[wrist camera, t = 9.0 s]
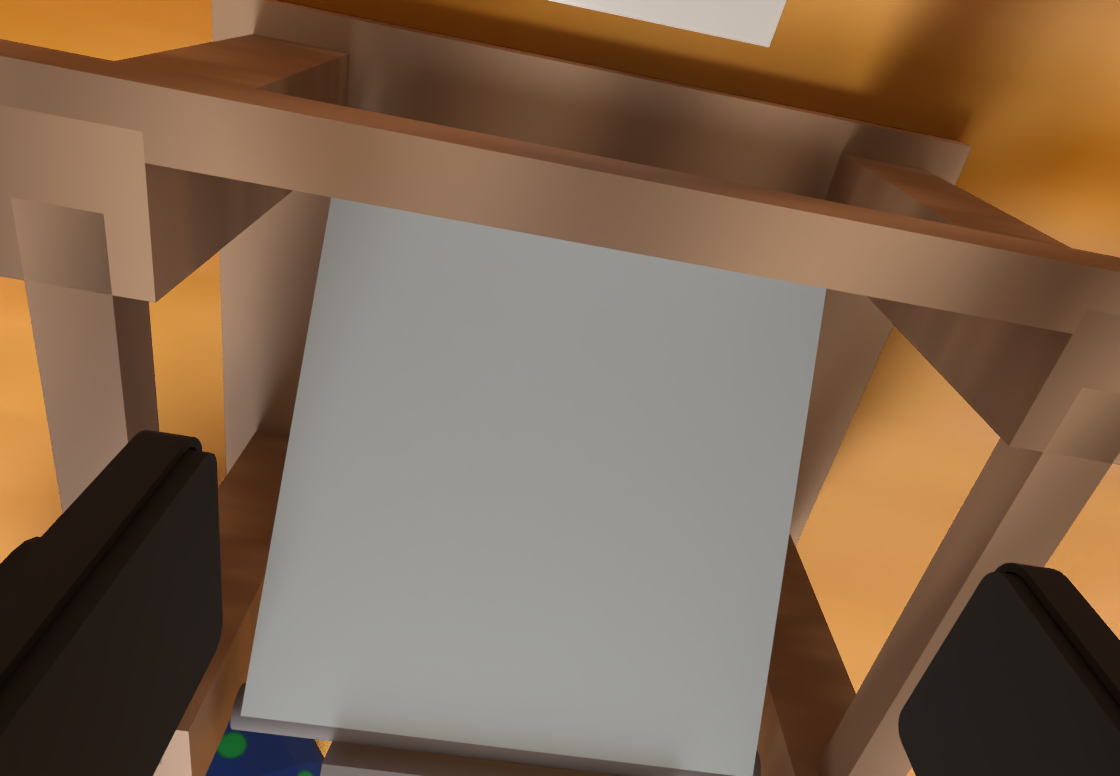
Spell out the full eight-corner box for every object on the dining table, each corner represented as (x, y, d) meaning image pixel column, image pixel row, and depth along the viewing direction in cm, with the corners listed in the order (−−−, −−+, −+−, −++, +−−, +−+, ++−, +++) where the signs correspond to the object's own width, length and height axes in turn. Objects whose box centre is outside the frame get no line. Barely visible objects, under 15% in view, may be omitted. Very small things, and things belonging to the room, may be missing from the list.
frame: (958, 141, 21) (1334, 299, 11) (773, 568, 28) (891, 898, 18) (223, -11, 19) (-159, 8, 9) (236, 489, 27) (37, 805, 17)
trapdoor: (812, 294, 20) (840, 285, 18) (719, 898, 19) (741, 944, 18) (334, 207, 19) (319, 189, 17) (222, 846, 18) (196, 889, 16)
